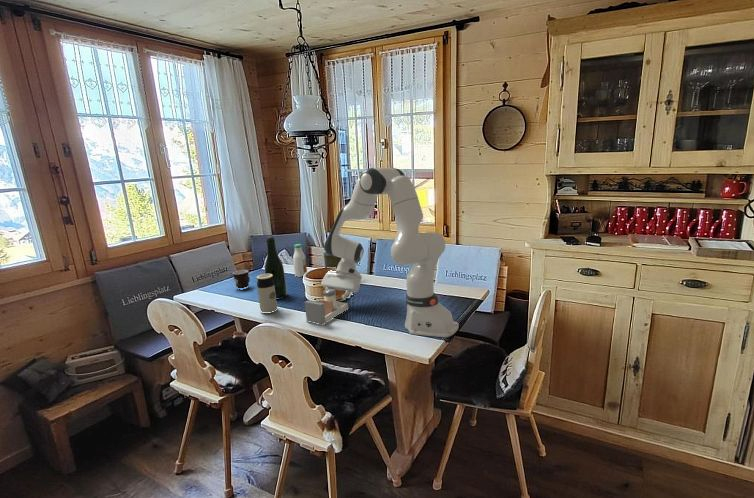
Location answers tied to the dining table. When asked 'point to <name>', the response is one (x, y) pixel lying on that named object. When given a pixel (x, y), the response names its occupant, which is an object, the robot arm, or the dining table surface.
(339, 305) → the pusher lane
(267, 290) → the travel mug
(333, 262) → the canister
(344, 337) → the dining table surface
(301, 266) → the milk bottle
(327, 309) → the spring pusher
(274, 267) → the wine bottle
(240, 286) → the coffee mug
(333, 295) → the jar
